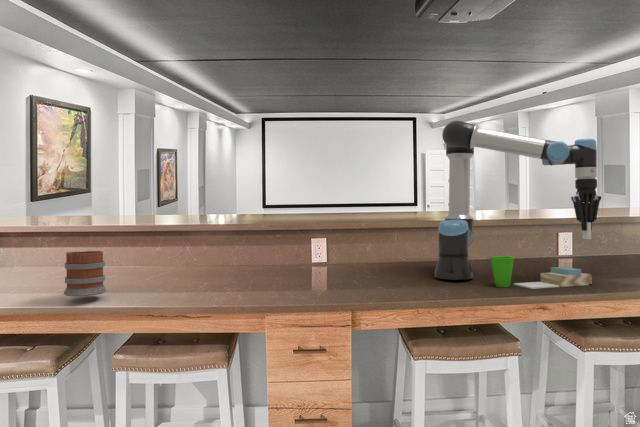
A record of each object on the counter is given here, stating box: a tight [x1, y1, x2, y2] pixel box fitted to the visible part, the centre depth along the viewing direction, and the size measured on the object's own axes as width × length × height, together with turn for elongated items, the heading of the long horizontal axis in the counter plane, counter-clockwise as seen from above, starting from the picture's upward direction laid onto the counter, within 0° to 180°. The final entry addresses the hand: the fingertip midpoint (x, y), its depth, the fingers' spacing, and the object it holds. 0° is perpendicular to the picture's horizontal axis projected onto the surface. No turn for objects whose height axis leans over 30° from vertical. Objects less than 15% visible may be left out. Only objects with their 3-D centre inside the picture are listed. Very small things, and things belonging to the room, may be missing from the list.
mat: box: [513, 281, 560, 290], centre depth 188 cm, size 12×10×1 cm
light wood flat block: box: [540, 271, 593, 288], centre depth 192 cm, size 15×10×4 cm, turn 108°
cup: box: [489, 255, 516, 288], centre depth 188 cm, size 9×9×11 cm
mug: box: [63, 250, 107, 297], centre depth 182 cm, size 14×19×15 cm
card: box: [550, 266, 582, 275], centre depth 192 cm, size 6×9×2 cm, turn 18°
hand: (586, 238), depth 195 cm, fingers closed
